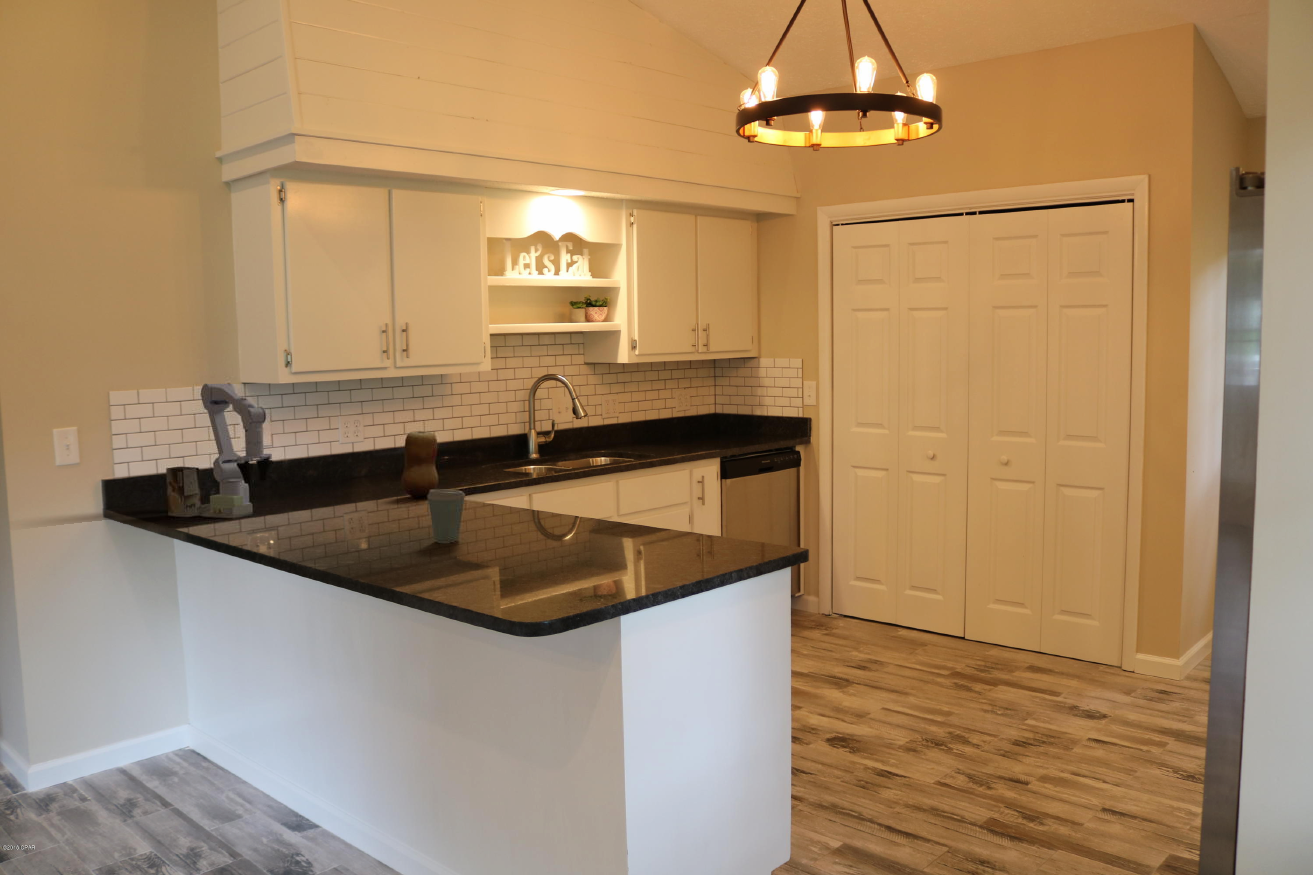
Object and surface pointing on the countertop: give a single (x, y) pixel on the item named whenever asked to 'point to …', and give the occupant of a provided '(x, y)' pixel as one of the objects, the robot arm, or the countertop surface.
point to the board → (225, 501)
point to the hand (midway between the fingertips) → (255, 482)
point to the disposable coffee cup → (446, 514)
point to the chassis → (225, 511)
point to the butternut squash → (420, 464)
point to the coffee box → (183, 491)
